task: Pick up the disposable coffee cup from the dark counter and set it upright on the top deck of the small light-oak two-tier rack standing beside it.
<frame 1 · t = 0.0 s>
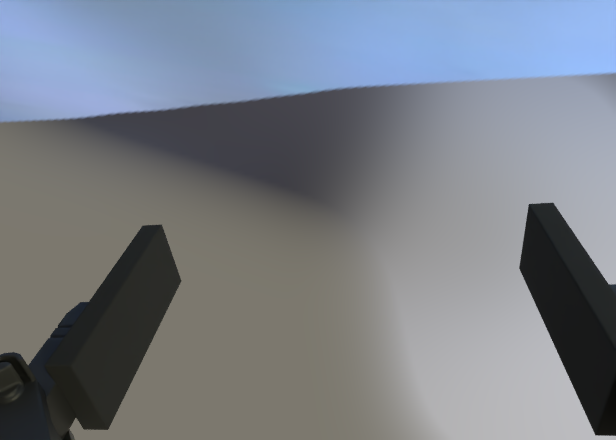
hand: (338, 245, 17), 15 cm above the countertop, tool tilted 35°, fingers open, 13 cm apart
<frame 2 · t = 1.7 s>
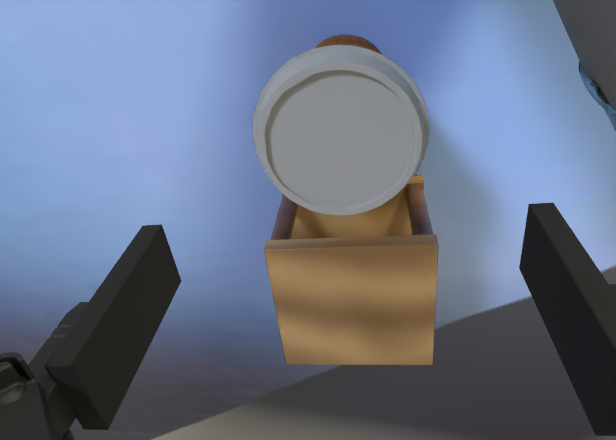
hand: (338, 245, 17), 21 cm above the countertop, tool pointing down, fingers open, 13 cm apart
disposable coffee cup: (345, 78, 35), on the countertop
oak rack: (355, 235, 42), on the countertop
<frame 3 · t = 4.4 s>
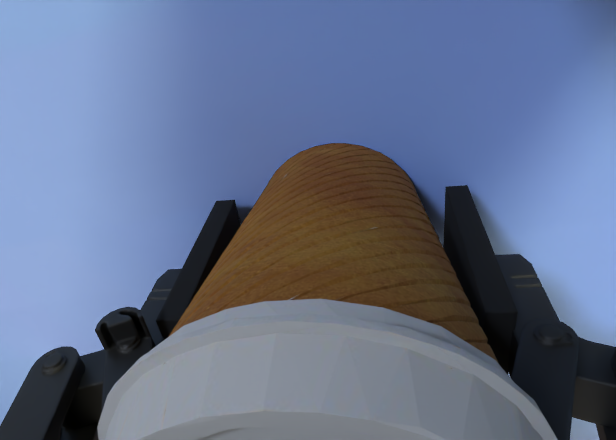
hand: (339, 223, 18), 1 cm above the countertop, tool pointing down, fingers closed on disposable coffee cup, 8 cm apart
disposable coffee cup: (340, 212, 19), on the countertop, touching gripper
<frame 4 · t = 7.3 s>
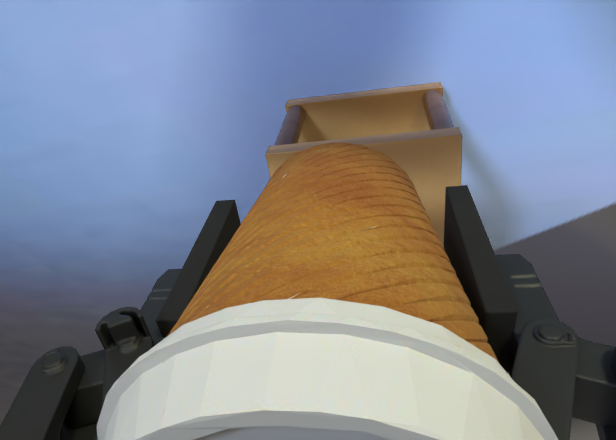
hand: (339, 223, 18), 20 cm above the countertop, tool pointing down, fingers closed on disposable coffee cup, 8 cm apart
disposable coffee cup: (340, 211, 19), point 19 cm above the countertop, touching gripper
oak rack: (368, 159, 38), on the countertop
when the fingers open (10 cm above the countertop, at t = 10.1 s): disposable coffee cup stays where it is, resting on oak rack.
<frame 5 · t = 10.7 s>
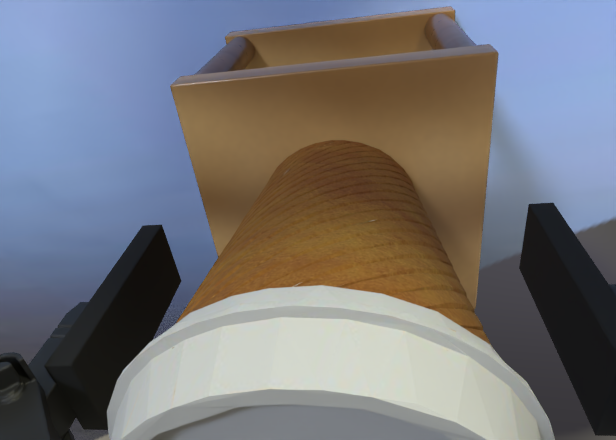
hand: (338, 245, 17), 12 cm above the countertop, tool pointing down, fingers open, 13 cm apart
disposable coffee cup: (339, 208, 19), point 9 cm above the countertop, touching oak rack
oak rack: (345, 124, 27), on the countertop
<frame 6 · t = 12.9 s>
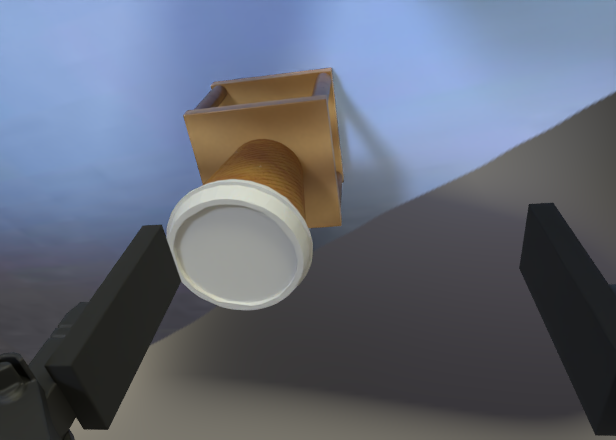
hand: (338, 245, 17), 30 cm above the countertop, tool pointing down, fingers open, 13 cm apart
disposable coffee cup: (266, 172, 39), point 9 cm above the countertop, touching oak rack
oak rack: (281, 131, 47), on the countertop
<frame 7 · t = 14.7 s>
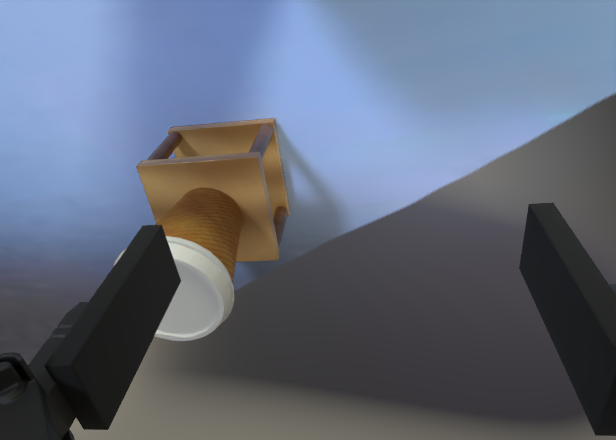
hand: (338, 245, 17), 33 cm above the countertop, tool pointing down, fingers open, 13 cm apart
disposable coffee cup: (210, 214, 45), point 9 cm above the countertop, touching oak rack
oak rack: (233, 170, 53), on the countertop
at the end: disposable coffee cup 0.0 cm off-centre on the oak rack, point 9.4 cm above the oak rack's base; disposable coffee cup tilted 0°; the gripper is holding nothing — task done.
